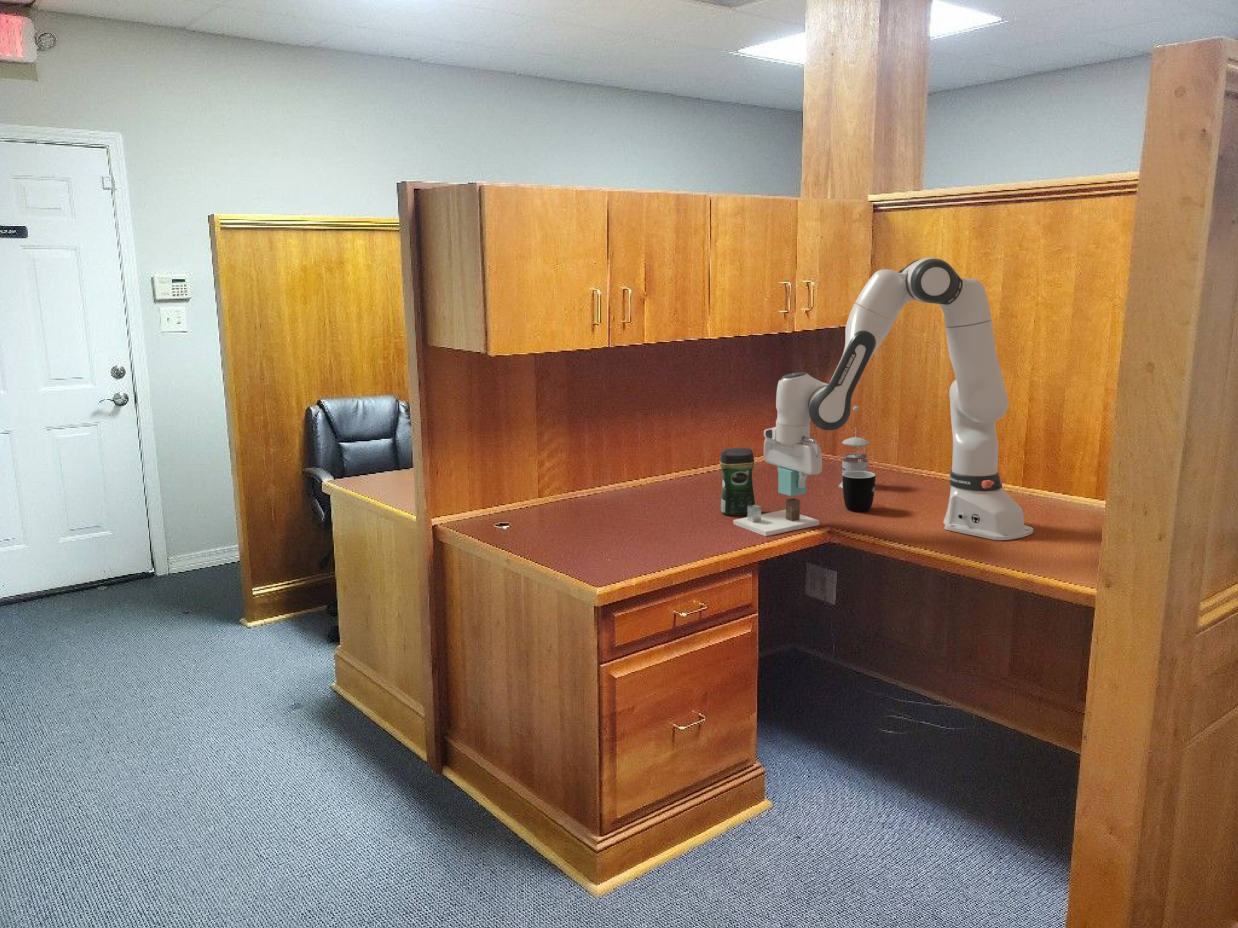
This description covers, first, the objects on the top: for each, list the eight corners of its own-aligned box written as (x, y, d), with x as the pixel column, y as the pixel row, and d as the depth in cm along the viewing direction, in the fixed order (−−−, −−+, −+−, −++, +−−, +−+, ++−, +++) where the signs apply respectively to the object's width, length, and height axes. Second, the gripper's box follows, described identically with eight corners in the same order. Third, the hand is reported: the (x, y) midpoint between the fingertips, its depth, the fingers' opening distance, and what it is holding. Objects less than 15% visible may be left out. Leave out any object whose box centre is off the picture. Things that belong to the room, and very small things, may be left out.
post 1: (761, 521, 261) (761, 506, 260) (753, 522, 259) (753, 508, 258) (755, 518, 263) (755, 504, 262) (747, 520, 262) (747, 506, 261)
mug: (877, 513, 269) (878, 477, 267) (844, 513, 269) (844, 478, 267) (869, 502, 280) (870, 468, 278) (838, 502, 281) (838, 468, 279)
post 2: (799, 519, 261) (799, 499, 259) (791, 521, 259) (792, 501, 258) (793, 517, 263) (793, 497, 262) (785, 519, 262) (785, 499, 260)
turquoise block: (805, 493, 258) (806, 469, 257) (790, 496, 256) (790, 471, 255) (793, 489, 263) (793, 465, 262) (778, 492, 260) (778, 468, 259)
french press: (833, 487, 298) (834, 407, 293) (847, 480, 308) (848, 401, 303) (864, 491, 293) (866, 409, 288) (877, 483, 303) (879, 403, 297)
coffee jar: (751, 508, 278) (751, 444, 275) (757, 515, 271) (757, 450, 267) (718, 509, 278) (717, 446, 274) (723, 517, 270) (722, 451, 266)
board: (819, 524, 259) (819, 520, 259) (765, 536, 251) (765, 531, 251) (785, 513, 271) (785, 509, 271) (733, 524, 263) (733, 519, 263)
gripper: (828, 438, 249) (827, 491, 252) (778, 427, 266) (777, 476, 269) (809, 441, 246) (808, 494, 249) (759, 430, 263) (759, 479, 266)
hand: (792, 485), depth 259 cm, fingers closed on turquoise block, 5 cm apart
